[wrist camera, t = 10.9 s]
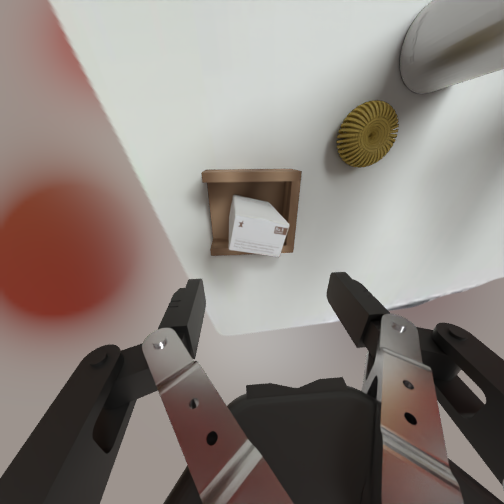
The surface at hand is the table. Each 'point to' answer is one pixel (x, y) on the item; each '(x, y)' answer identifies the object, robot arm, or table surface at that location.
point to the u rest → (252, 186)
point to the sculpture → (367, 133)
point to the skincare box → (256, 227)
